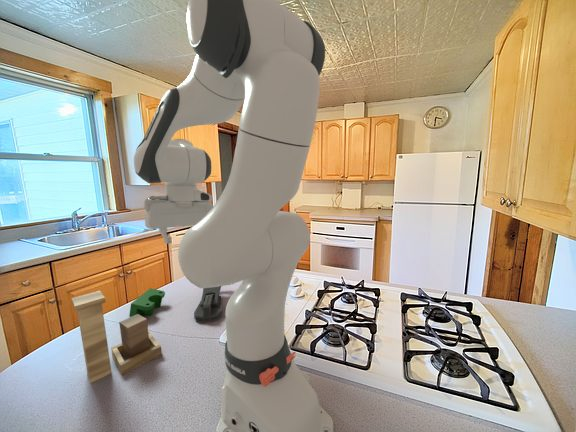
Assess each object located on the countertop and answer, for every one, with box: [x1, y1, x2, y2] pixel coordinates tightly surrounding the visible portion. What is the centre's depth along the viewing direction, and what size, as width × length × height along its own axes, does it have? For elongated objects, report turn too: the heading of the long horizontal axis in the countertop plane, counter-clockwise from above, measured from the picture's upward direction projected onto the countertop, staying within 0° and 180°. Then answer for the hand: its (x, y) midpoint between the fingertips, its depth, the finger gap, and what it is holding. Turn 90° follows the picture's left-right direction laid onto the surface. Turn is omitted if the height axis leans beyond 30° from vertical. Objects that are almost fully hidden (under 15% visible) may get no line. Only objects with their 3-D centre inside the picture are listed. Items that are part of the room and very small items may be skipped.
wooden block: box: [118, 314, 151, 361], centre depth 64 cm, size 4×4×10 cm
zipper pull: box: [193, 286, 223, 324], centre depth 91 cm, size 9×7×25 cm
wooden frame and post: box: [71, 290, 163, 384], centre depth 61 cm, size 9×15×19 cm, turn 137°
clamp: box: [128, 287, 166, 318], centre depth 86 cm, size 12×6×9 cm, turn 173°
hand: (183, 241), depth 76 cm, fingers open, 8 cm apart
